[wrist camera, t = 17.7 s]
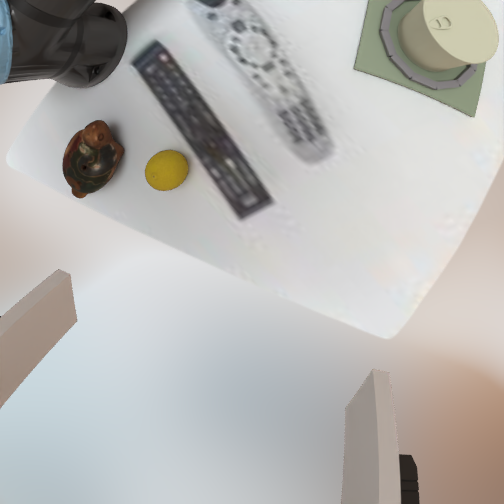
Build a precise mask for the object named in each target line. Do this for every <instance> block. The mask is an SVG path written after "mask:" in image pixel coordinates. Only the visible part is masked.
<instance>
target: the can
mask: <svg viewBox="0 0 504 504" xmlns="http://www.w3.org/2000/svg"><path fill="white" fill-rule="evenodd" d="M398 40H399V43H400V46H401V48H402V50H403V51H404V53H405V54H406V56H407V57H408V58H409V59H410V60H411V61H412V62H413V63H414V64H416V65H417V66H419V67H420V68H422V69H425V70H427V71H431V72H444V71H447V70H449V69H451V68H454V67H459V66H464V65H469V64H479V63H483V62H486V61H488V60H489V59H490V58H492V57H493V55H494V54H495V52H496V50H497V47H498V42H499V35H498V29H497V25H496V22H495V20H494V18H493V16H492V14H491V12H490V11H489V9H488V8H487V7H486V5H485V4H484V3H483V2H482V1H481V0H421V1H420V2H419V3H418V4H417V5H416V6H415V7H414V8H413V9H412V10H411V11H410V12H408V13H407V14H405V15H404V16H403V17H402V19H401V20H400V22H399V25H398Z"/></svg>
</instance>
